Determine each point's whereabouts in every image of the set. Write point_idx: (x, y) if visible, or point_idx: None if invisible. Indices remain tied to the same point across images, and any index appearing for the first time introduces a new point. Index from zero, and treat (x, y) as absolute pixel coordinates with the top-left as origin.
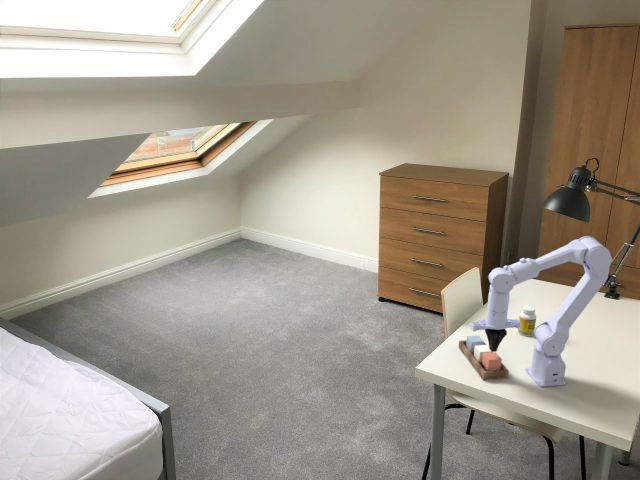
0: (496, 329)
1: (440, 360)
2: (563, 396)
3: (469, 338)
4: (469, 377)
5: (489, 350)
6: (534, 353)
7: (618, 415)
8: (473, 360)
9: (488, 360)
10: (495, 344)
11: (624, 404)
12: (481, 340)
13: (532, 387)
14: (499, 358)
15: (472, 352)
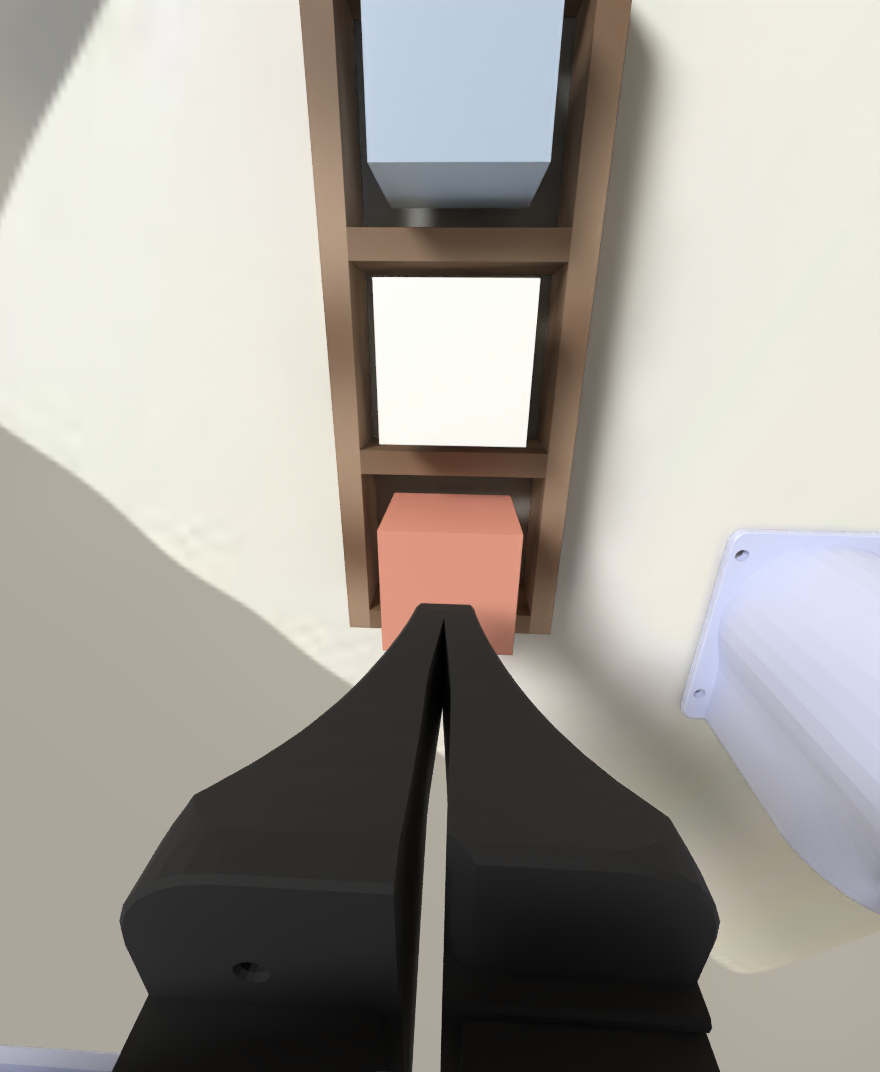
0: (444, 1061)
1: (93, 268)
2: (735, 783)
3: (373, 7)
4: (283, 549)
5: (502, 427)
6: (865, 747)
7: (855, 907)
8: (336, 433)
9: (383, 641)
10: (429, 782)
11: None
12: (530, 122)
13: (629, 699)
14: (497, 643)
15: (383, 263)
